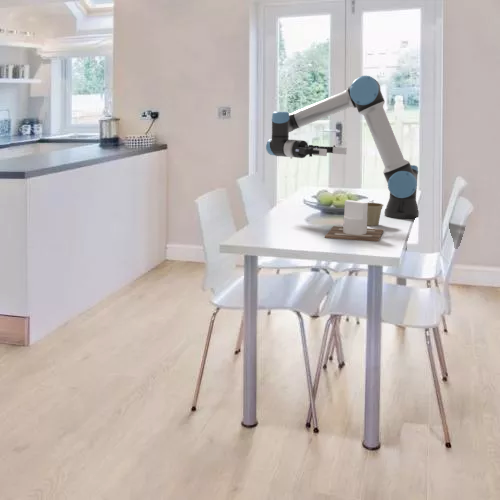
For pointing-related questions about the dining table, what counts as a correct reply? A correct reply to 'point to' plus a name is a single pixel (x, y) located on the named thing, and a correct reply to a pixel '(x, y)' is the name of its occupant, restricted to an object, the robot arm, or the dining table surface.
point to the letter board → (369, 236)
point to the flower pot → (373, 214)
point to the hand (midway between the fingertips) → (336, 151)
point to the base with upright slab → (355, 217)
